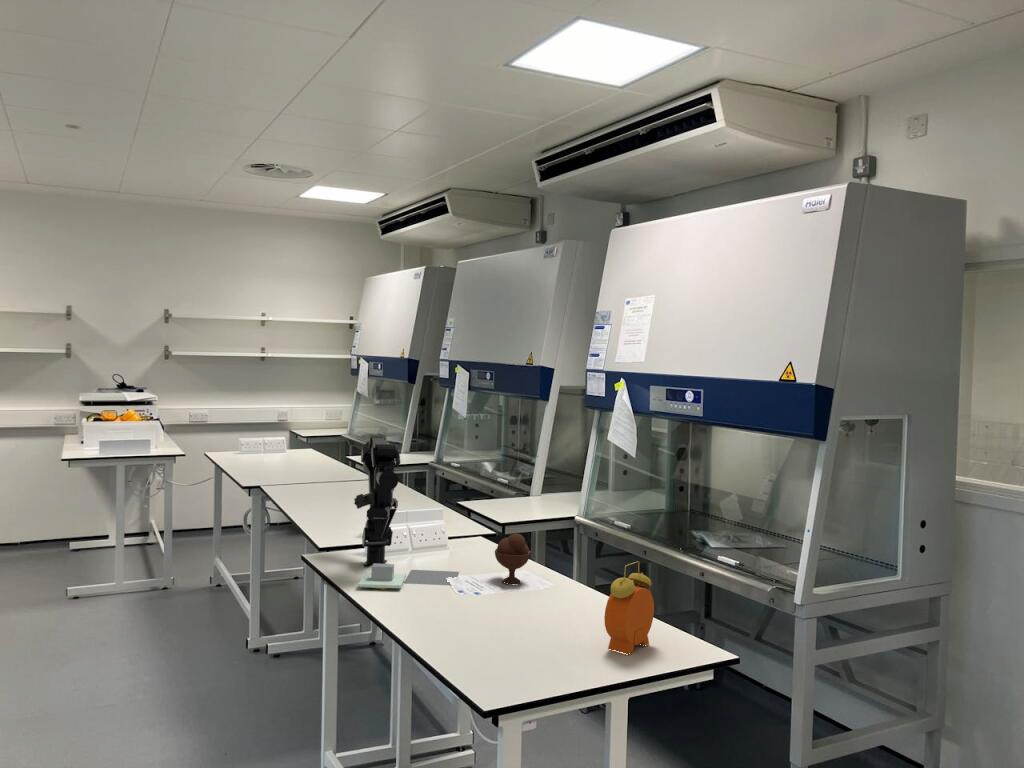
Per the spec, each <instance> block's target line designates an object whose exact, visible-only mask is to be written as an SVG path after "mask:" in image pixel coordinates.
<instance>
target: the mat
mask: <svg viewBox="0 0 1024 768" xmlns="http://www.w3.org/2000/svg"><path fill="white" fill-rule="evenodd" d="M459 575H460V571H451V570H450V571H449V570H448V571H447V570H431V569H430V570H427V569H425V570H424V569H410V571H409V573H408V574H407V576H406V577H405V580H404V582H403V584H411V585H435V586H436V585H437V586H452V585H451V584H450V582H447V579H446V578H448V577H452V578H454V577H457V578H459Z"/></svg>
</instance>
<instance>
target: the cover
mask: <svg viewBox="0 0 1024 768" xmlns="http://www.w3.org/2000/svg"><path fill="white" fill-rule="evenodd" d="M406 578H407V576H406V573H395V564H394V563H385V564H377V563H374V564H373V565H371V572H365V573H364V575H362V577H361V579H360V581H359V582H358V584H357V587H358V588H372V587H373V588H372V589H376V588H389V589H401V588H402V587H403V584H404V581H405V580H406Z"/></svg>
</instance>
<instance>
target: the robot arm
mask: <svg viewBox="0 0 1024 768" xmlns="http://www.w3.org/2000/svg"><path fill="white" fill-rule="evenodd" d="M361 447H362V448H361V452H360V462H361V463H362V467H363V468H362V469H363V470H364V472H365V474H367V477H368V478H367V479H368V493H365V494H363V493H361V494H357V495H356V496H355V498H354V499H353V500H354V505H355V506H356V509H357V510H359V509H362V507H367V506H369V508H368V509H367V510H366V518H367V519H366V522H365V525H364V527H363V531H362V532H363V533H362V536H361V537H362V538H361V539H362V541H361V542H362V547H364V548H366V561H365V562H364V563H363V566H364V567H371V566H372V565H373V564H374V563H377V564H387V562H388V560H387V559H386V558H385V557H386V547H390V546H391V545H392V539H393V533H394V531H393V530H392V528H391V526H390V525H391V523H392V520H393V518H394V516H395V514H396V512H397V510H398V509H397V508H398V506H399V501H398V500H397V499H396V497H394V496H393V495H394V492H395V488H397V486H398V484H399V477H398V474H396V472H395V468H400V465H401V455H400V451H399V449H398V447H396V444H395V443H388V442H387V441H386V437H385V436H378V435H377V436H376V435H375V436H369V437H368V441H367V442H366V443H365V444H363V445H362V446H361Z"/></svg>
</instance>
